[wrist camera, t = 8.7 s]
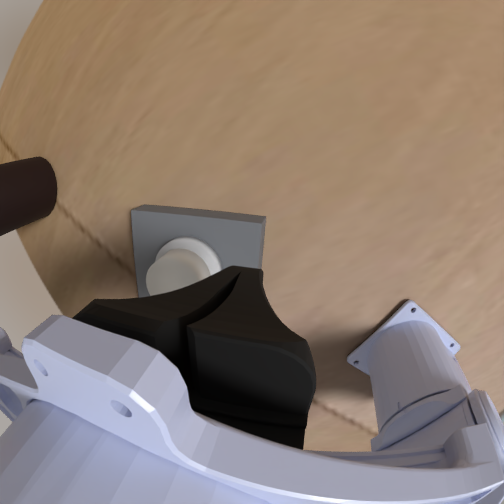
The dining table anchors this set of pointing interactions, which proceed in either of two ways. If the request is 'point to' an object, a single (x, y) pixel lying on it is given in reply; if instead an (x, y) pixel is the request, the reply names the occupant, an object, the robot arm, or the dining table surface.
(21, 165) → the bottle
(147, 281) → the knob
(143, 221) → the knob panel
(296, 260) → the dining table surface
